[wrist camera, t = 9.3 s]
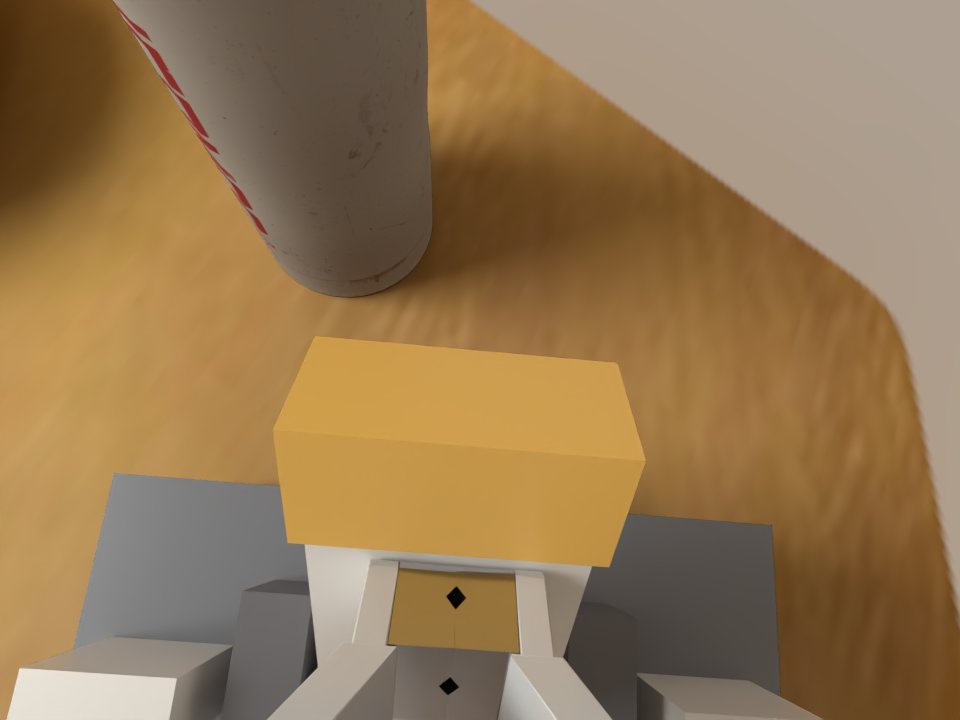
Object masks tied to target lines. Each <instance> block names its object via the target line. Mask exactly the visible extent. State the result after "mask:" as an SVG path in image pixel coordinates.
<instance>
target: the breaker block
mask: <svg viewBox="0 0 960 720" xmlns="http://www.w3.org/2000/svg"><path fill="white" fill-rule="evenodd" d="M563 658H564V659H565V660H566V661H567V663H568V664H569V665H570V666H571V668H572V669H573V670H574V671H575V673H576V674H577V675H578V677H579V678H580V679H581V680H582V682H583V683H584V684H585V685H586V687H587V688H588V689H589V691H590V692H591V693H592V694H593V696H594V697H595V698H596V699H597V701H598V702H599V703H600V704H601V706H602V707H603V708H604V710H605V711H606V712H607V713H608V715H609V716H610V717H611V718H612V720H824V719H822V718H820V717H818V716H816V715H814V714H813V713H811V712H809V711H807V710H805V709H803V708H801V707H799V706H797V705H795V704H793V703H791V702H789V701H787V700H785V699H783V698H781V689H780V669H779V650H778V630H777V611H776V591H775V572H774V552H773V533H772V525H762V524H750V523H737V522H725V521H712V520H699V519H687V518H674V517H661V516H649V515H636V514H627V517H626V520H625V523H624V526H623V529H622V532H621V535H620V537H619V540H618V543H617V546H616V549H615V552H614V555H613V558H612V561H611V563H610V566H609V567H597V566H592V568H591V571H590V574H589V577H588V581H587V584H586V587H585V590H584V593H583V596H582V599H581V602H580V606H579V609H578V612H577V615H576V618H575V621H574V624H573V627H572V631H571V634H570V637H569V640H568V643H567V646H566V649H565V652H564V656H563ZM317 668H318V663H317V654H316V645H315V636H314V626H313V617H312V608H311V599H310V590H309V580H308V571H307V562H306V553H305V544H293V543H288V542H287V535H286V527H285V520H284V512H283V505H282V497H281V490H280V486H270V485H258V484H245V483H232V482H220V481H207V480H195V479H182V478H169V477H157V476H144V475H132V474H119V473H114V476H113V480H112V484H111V489H110V493H109V497H108V502H107V506H106V510H105V515H104V519H103V523H102V527H101V532H100V536H99V540H98V545H97V549H96V553H95V558H94V562H93V566H92V571H91V575H90V579H89V583H88V588H87V592H86V596H85V601H84V605H83V609H82V614H81V618H80V622H79V627H78V631H77V635H76V640H75V644H74V648H73V650H71V651H68V652H65V653H62V654H59V655H57V656H54V657H51V658H48V659H45V660H42V661H39V662H36V663H33V664H30V665H27V666H25V667H22V668H20V669H19V673H18V677H17V681H16V685H15V689H14V693H13V697H12V701H11V705H10V709H9V713H8V717H7V720H267V719H268V718H269V717H270V716H271V715H272V714H273V713H274V712H275V711H276V710H277V709H278V708H279V707H280V706H281V705H282V704H283V703H284V702H285V701H286V700H287V699H288V698H289V697H290V696H291V695H292V694H293V693H294V691H295V690H296V689H297V688H298V687H299V686H300V685H301V684H302V683H303V682H304V681H305V680H306V679H307V678H308V677H309V676H310V675H311V674H312V673H313V672H314V671H315V670H316V669H317Z"/></svg>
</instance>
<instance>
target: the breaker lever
mask: <svg viewBox="0 0 960 720" xmlns="http://www.w3.org/2000/svg"><path fill="white" fill-rule="evenodd" d="M273 437H274V445H275V452H276V460H277V467H278V475H279V482H280V490H281V497H282V505H283V512H284V520H285V527H286V535H287V542H288V543H293V544H305V553H306V562H307V571H308V580H309V590H310V599H311V608H312V617H313V626H314V636H315V645H316V654H317V663H318V667H319V666H320V665H321V664H322V663H323V662H324V661H325V660H326V659H327V658H328V657H329V656H330V655H331V654H332V653H333V652H334V651H335V650H336V649H337V648H338V647H339V646H340V645H341V644H342V643H352V638H353V633H354V628H355V623H356V619H357V614H358V609H359V604H360V600H361V595H362V590H363V585H364V581H365V576H366V571H367V566H368V564H369V562H370V560H371V559H378V560H389V561H399V562H400V561H403V562H413V563H423V564H433V565H443V566H453V567H457V566H463V567H479V568H495V569H511V570H513V571H514V570H522V571H536V572H542V573H543V575H544V576H545V582H546V590H547V598H548V606H549V614H550V622H551V630H552V638H553V646H554V654H555V657H562V658H563V656H564V652H565V649H566V646H567V643H568V640H569V637H570V634H571V631H572V627H573V624H574V621H575V618H576V615H577V612H578V609H579V606H580V602H581V599H582V596H583V593H584V590H585V587H586V584H587V581H588V577H589V574H590V571H591V568H592V566H597V567H609V566H610V563H611V561H612V558H613V555H614V552H615V549H616V546H617V543H618V540H619V537H620V535H621V532H622V529H623V526H624V523H625V520H626V517H627V514H628V511H629V509H630V506H631V503H632V500H633V497H634V494H635V491H636V488H637V485H638V483H639V480H640V477H641V474H642V471H643V468H644V465H645V462H646V459H645V456H644V452H643V449H642V446H641V442H640V439H639V435H638V432H637V429H636V425H635V422H634V418H633V415H632V412H631V408H630V405H629V401H628V398H627V395H626V391H625V388H624V384H623V381H622V378H621V374H620V371H619V367H618V364H617V363H611V362H600V361H589V360H577V359H566V358H555V357H544V356H532V355H521V354H510V353H499V352H488V351H476V350H465V349H454V348H443V347H431V346H420V345H409V344H398V343H386V342H375V341H364V340H353V339H342V338H330V337H319V336H315V337H314V339H313V342H312V344H311V346H310V348H309V351H308V353H307V355H306V357H305V359H304V362H303V364H302V366H301V368H300V370H299V373H298V375H297V377H296V379H295V381H294V384H293V386H292V388H291V390H290V393H289V395H288V397H287V399H286V401H285V404H284V406H283V408H282V410H281V412H280V415H279V417H278V419H277V421H276V423H275V426H274V428H273ZM392 720H396V719H392Z"/></svg>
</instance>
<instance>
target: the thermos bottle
mask: <svg viewBox="0 0 960 720" xmlns="http://www.w3.org/2000/svg"><path fill="white" fill-rule="evenodd" d="M112 1H113V3H114V4H115V6H116V7H117V9H118V10H119V12H120V14H121V15H122V17H123V18H124V20H125V22H126V23H127V25H128V26H129V28H130V29H131V31H132V33H133V34H134V36H135V37H136V39H137V41H138V42H139V44H140V45H141V47H142V48H143V50H144V52H145V53H146V55H147V56H148V58H149V60H150V61H151V63H152V64H153V66H154V67H155V69H156V71H157V72H158V74H159V75H160V77H161V79H162V80H163V82H164V83H165V85H166V86H167V88H168V90H169V91H170V93H171V94H172V96H173V98H174V99H175V101H176V102H177V104H178V105H179V107H180V109H181V110H182V112H183V113H184V115H185V117H186V118H187V120H188V121H189V123H190V125H191V126H192V128H193V129H194V131H195V132H196V134H197V136H198V137H199V139H200V140H201V142H202V144H203V145H204V147H205V148H206V150H207V151H208V153H209V155H210V156H211V158H212V159H213V161H214V163H215V164H216V166H217V167H218V169H219V170H220V172H221V174H222V175H223V177H224V178H225V180H226V182H227V183H228V185H229V186H230V188H231V189H232V191H233V193H234V194H235V196H236V197H237V199H238V201H239V202H240V204H241V205H242V207H243V208H244V210H245V212H246V213H247V215H248V216H249V218H250V220H251V221H252V223H253V224H254V226H255V227H256V229H257V231H258V232H259V234H260V235H261V237H262V239H263V240H264V242H265V243H266V245H267V246H268V248H269V250H270V251H271V253H272V254H273V256H274V258H275V259H276V261H277V262H278V263H279V265H280V266H281V267H282V268H283V269H284V270H285V272H286V273H287V274H288V275H289V276H291V277H292V278H293V279H295V280H296V281H297V282H298V283H300V284H301V285H303V286H305V287H307V288H309V289H311V290H313V291H316V292H319V293H323V294H327V295H330V296H340V297H355V296H365V295H368V294H372V293H375V292H379V291H382V290H384V289H386V288H388V287H390V286H392V285H394V284H396V283H397V282H398V281H400V280H401V279H402V278H404V277H405V276H406V275H408V274H409V273H410V272H411V270H412V269H413V268H414V267H415V266H416V265H417V264H418V263H419V261H420V259H421V258H422V256H423V254H424V252H425V251H426V249H427V246H428V243H429V240H430V237H431V232H432V222H433V210H432V177H431V148H430V136H429V126H428V112H427V87H428V45H427V12H426V0H112Z"/></svg>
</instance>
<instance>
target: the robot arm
mask: <svg viewBox="0 0 960 720" xmlns="http://www.w3.org/2000/svg"><path fill="white" fill-rule="evenodd" d="M392 719H396V720H612V718H611V717H610V716H609V715H608V713H607V712H606V711H605V710H604V708H603V707H602V706H601V704H600V703H599V702H598V701H597V699H596V698H595V697H594V696H593V694H592V693H591V692H590V691H589V689H588V688H587V687H586V685H585V684H584V683H583V682H582V680H581V679H580V678H579V677H578V675H577V674H576V673H575V671H574V670H573V669H572V668H571V666H570V665H569V664H568V663H567V661H566V660H565V659H564V658H562V657H555V654H554V646H553V638H552V630H551V622H550V614H549V606H548V598H547V590H546V582H545V576H544V575H543V573H542V572H536V571H522V570H514V571H513V570H511V569H495V568H479V567H463V566H457V567H453V566H443V565H433V564H423V563H413V562H403V561H400V562H399V561H389V560H378V559H371V560H370V562H369V564H368V566H367V571H366V576H365V581H364V585H363V590H362V595H361V600H360V604H359V609H358V614H357V619H356V623H355V628H354V633H353V638H352V643H342V644H341V645H340V646H339V647H338V648H337V649H336V650H335V651H334V652H333V653H332V654H331V655H330V656H329V657H328V658H327V659H326V660H325V661H324V662H323V663H322V664H321V665H320V666H319V667H318V668H317V669H316V670H315V671H314V672H313V673H312V674H311V675H310V676H309V677H308V678H307V679H306V680H305V681H304V682H303V683H302V684H301V685H300V686H299V687H298V688H297V689H296V690H295V691H294V693H293V694H292V695H291V696H290V697H289V698H288V699H287V700H286V701H285V702H284V703H283V704H282V705H281V706H280V707H279V708H278V709H277V710H276V711H275V712H274V713H273V714H272V715H271V716H270V717H269V718H268V719H267V720H392Z"/></svg>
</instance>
